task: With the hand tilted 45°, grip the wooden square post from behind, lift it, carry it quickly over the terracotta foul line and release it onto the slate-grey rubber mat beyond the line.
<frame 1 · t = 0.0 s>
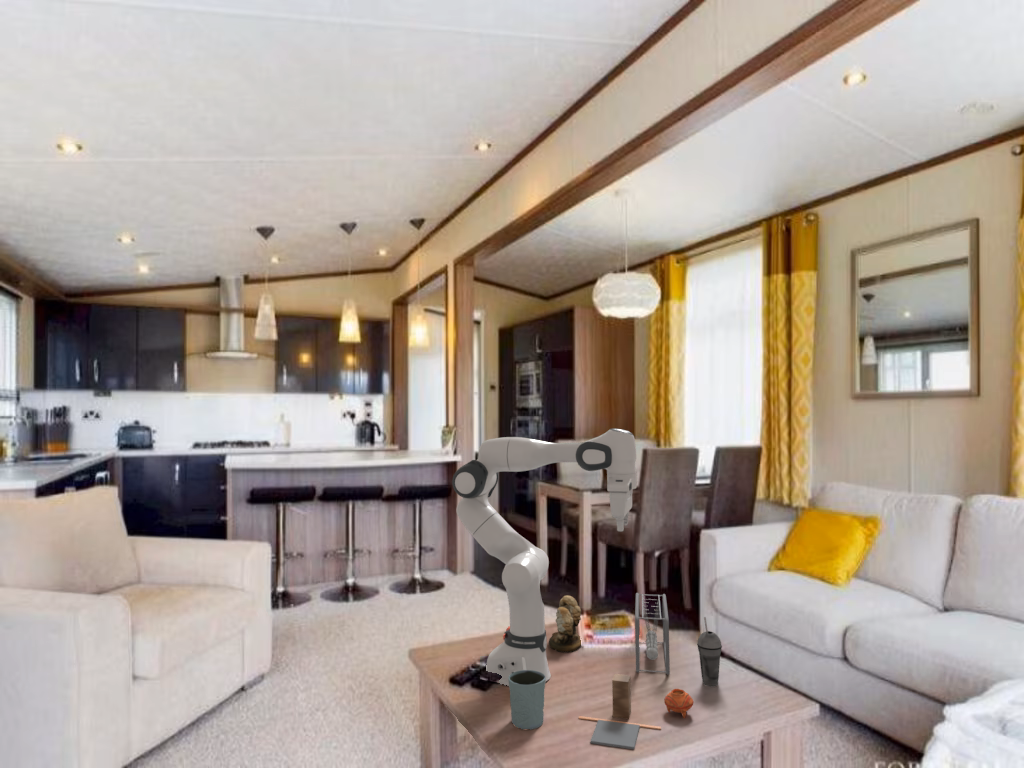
hand: (622, 528, 200), 48 cm above the table, tool pointing down, fingers open, 8 cm apart
newton's cradle: (652, 658, 222), on the table
pot: (679, 714, 182), on the table
wooden square post: (622, 714, 182), on the table
mat: (615, 735, 171), on the table
teal tumbler: (527, 722, 179), on the table
beverage cup: (710, 684, 201), on the table
foul line: (619, 723, 177), on the table
brown lumpy statue: (565, 643, 236), on the table
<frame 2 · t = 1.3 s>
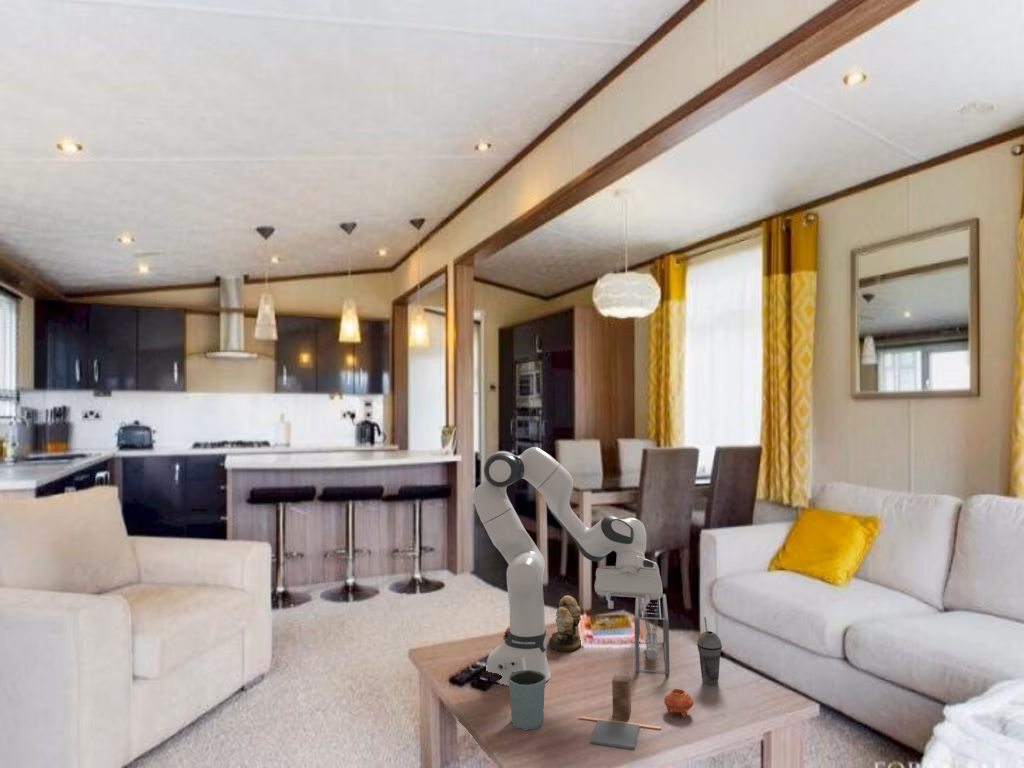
hand: (626, 608, 194), 25 cm above the table, tool tilted 45°, fingers open, 8 cm apart
nothing on the table moved.
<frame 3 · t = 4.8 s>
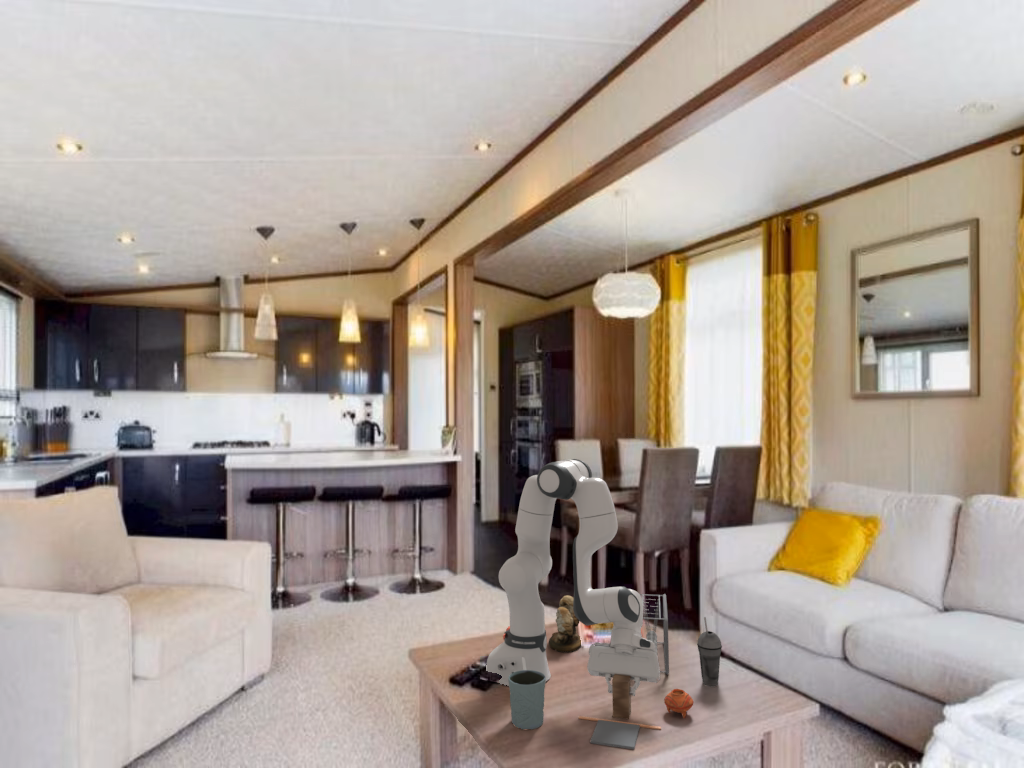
hand: (621, 693, 182), 6 cm above the table, tool tilted 45°, fingers closed on wooden square post, 4 cm apart
wooden square post: (622, 714, 182), on the table, touching gripper
everything else where it was.
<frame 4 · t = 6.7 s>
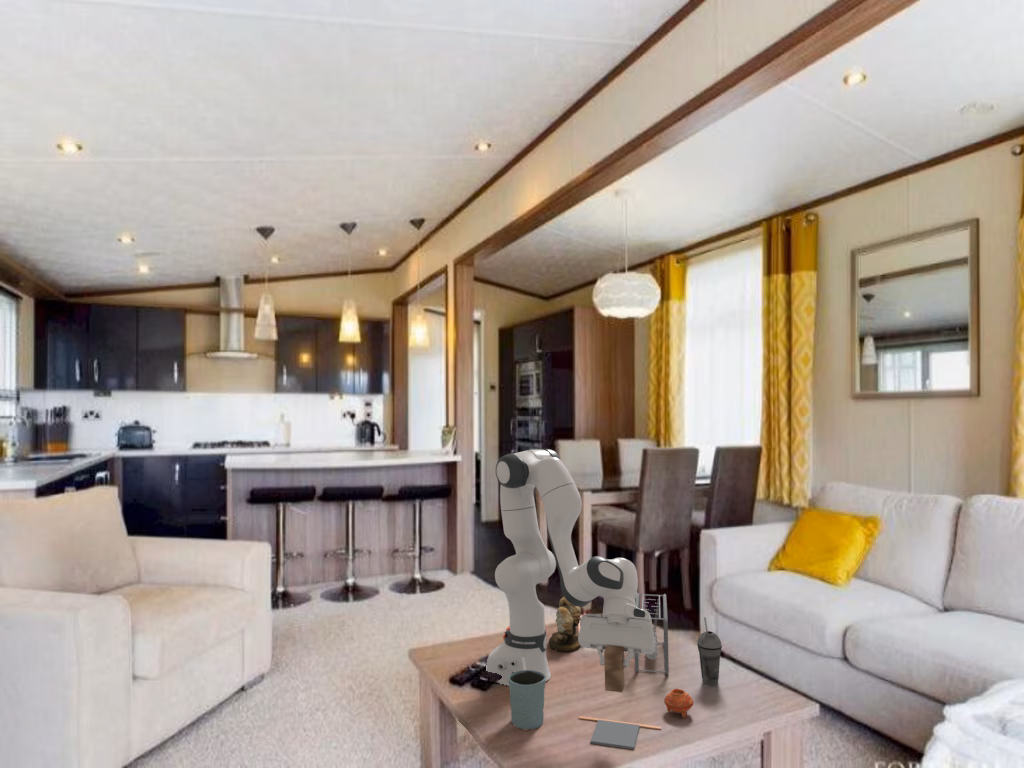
hand: (614, 665, 170), 18 cm above the table, tool tilted 45°, fingers closed on wooden square post, 4 cm apart
wooden square post: (614, 687, 171), point 12 cm above the table, touching gripper
everything else where it was.
when the fingers open (7 cm above the table, at t = 8.9 s): wooden square post stays where it is, resting on mat.
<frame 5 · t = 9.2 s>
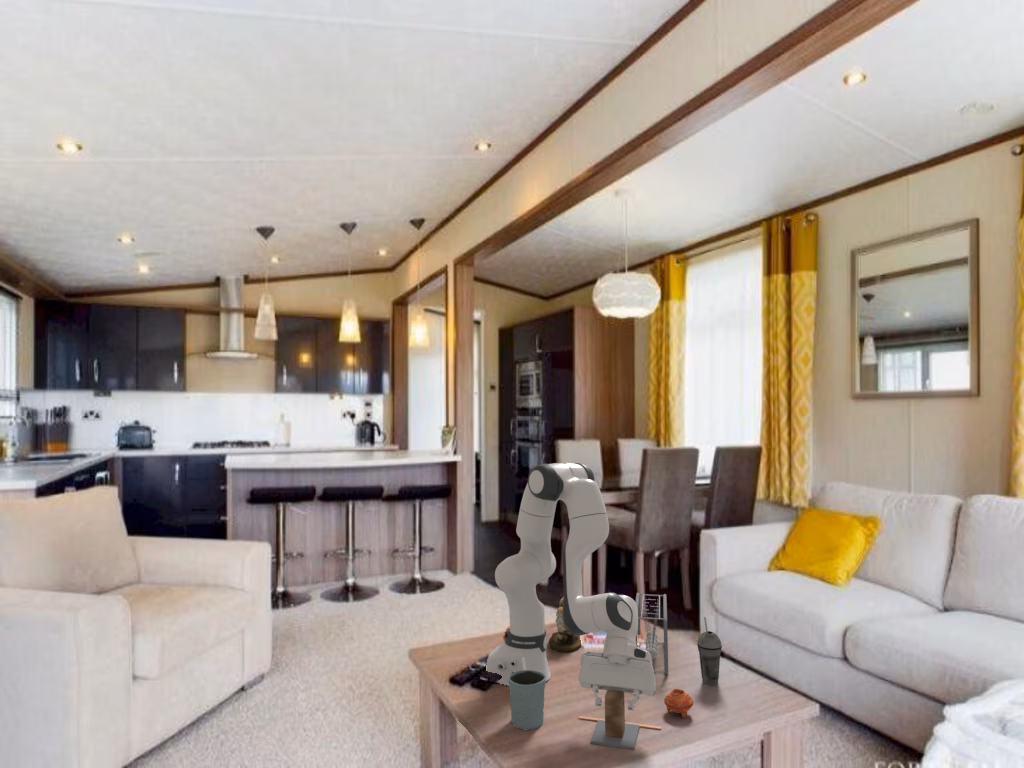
hand: (614, 707, 170), 7 cm above the table, tool tilted 45°, fingers open, 7 cm apart
wooden square post: (615, 733, 171), point 1 cm above the table, touching mat
everything else where it was.
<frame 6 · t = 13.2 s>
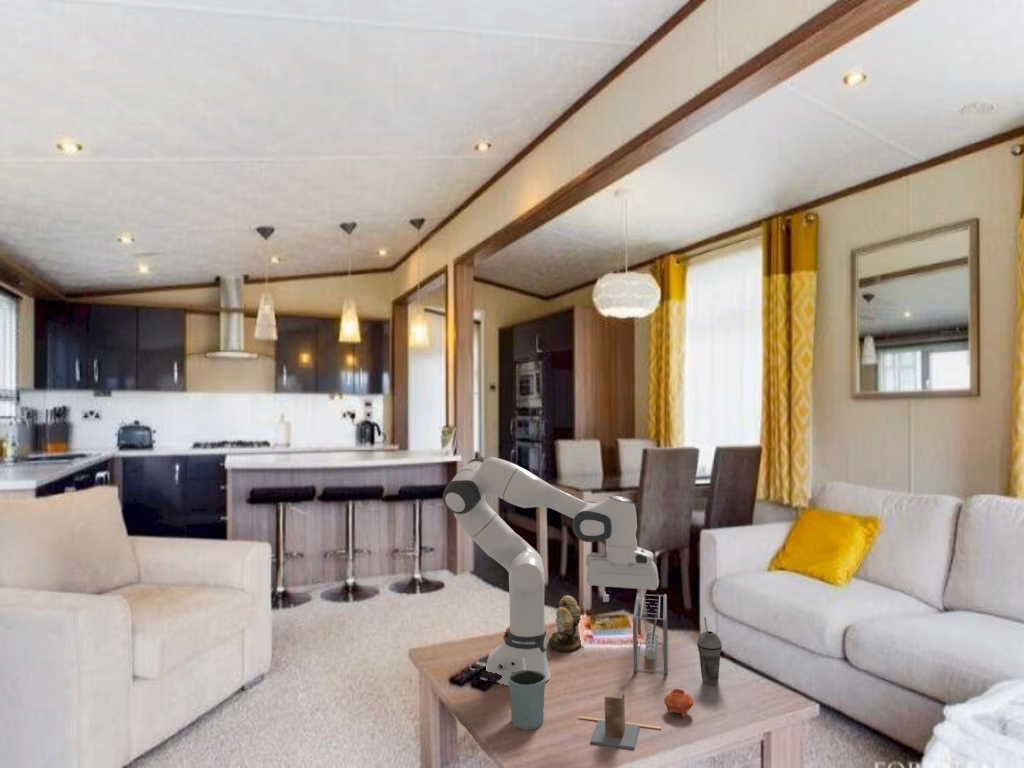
hand: (622, 602, 188), 29 cm above the table, tool pointing down, fingers open, 8 cm apart
nothing on the table moved.
at the end: wooden square post inside the target area (2.5 cm from its centre), point 0.6 cm above the table; wooden square post 0.2 cm from the mat (horizontally); the gripper is holding nothing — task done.
